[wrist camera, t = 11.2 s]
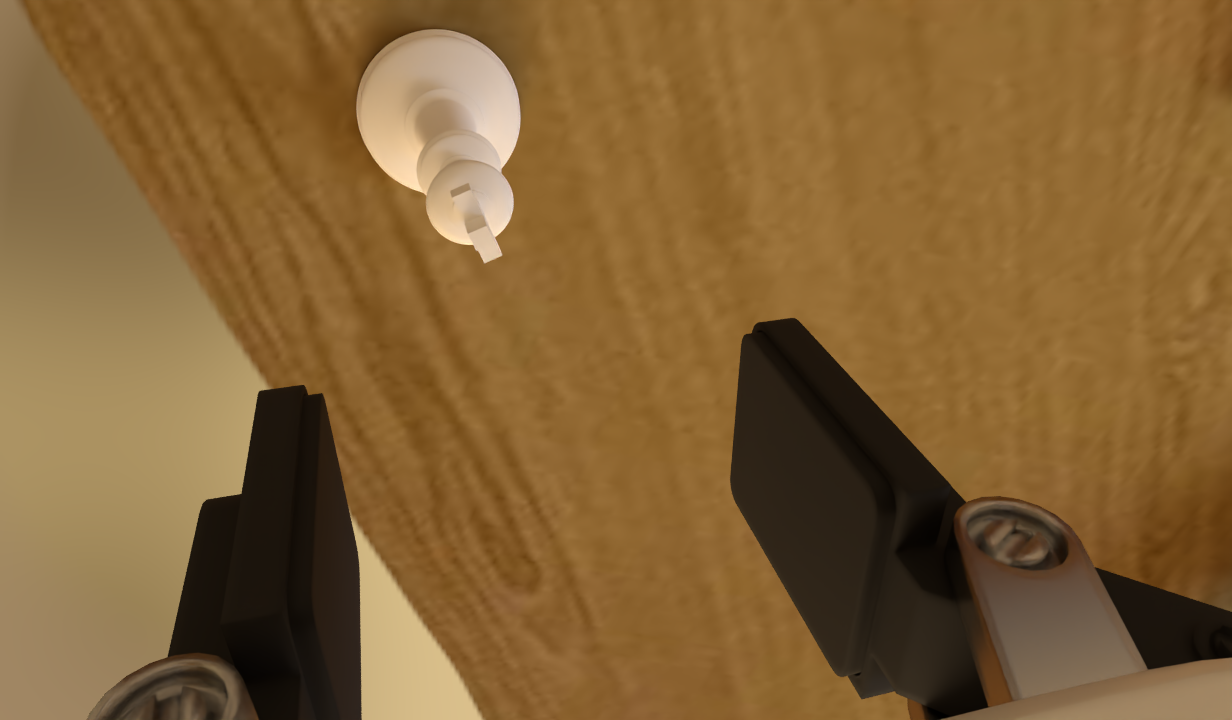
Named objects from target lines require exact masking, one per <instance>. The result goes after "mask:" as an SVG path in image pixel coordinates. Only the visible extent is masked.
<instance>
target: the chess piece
mask: <svg viewBox="0 0 1232 720" xmlns="http://www.w3.org/2000/svg"><path fill="white" fill-rule="evenodd" d="M356 111H357V120H358V125H359V130H360V133H361V136H362V138H363V141H364V143H365V145H366V147H367V148H368V150H369V152H370V153H371V155H372V157H373V158H374V159H375V161H376V162H377V163H378V165H379V166H380V167H381V168H382V169H383V170H384V171H385V172H386V173H387V174H388V175H389V176H391V177H392V178H393V179H395V180H396V181H398V182H399V183H401V184H403V185H404V186H407V187H409V188H411V189H413V190H416V191H419V192H423V193H424V194H425V195H426V196H427V197H426V209H427V213H428V217H429V219H430V221H431V223H432V225H433V226H434V228H435V229H436V230H437V231H438V232H439V233H440V234H441V235H442V236H444V237H445V238H447V239H449V240H451V241H453V242H456V243H459V244H466V245H474V247H475V249H476V251H479V253H480V255H481V257H482V259H483V261H484V263H486V262H489V261H491V260H493V259H495V258H498V257H500V256H502V253H501V250H500V248H499V246H498V243H497V241H496V239H495V237H496V236H497V235H498V234H500V233H501V232H502V231H503V229H504V228H505V227H506V226H507V224H508V222H509V220H510V218H511V216H512V212H513V206H514V200H513V193H512V190H511V187H510V185H509V183H508V181H507V180H506V178H505V177H504V176H503V175H502V174H501V168H502V167H503V166H504V165H505V163H506V162H507V161H508V159H509V157H510V156H511V154H512V152H513V150H514V148H515V145H516V142H517V139H518V135H519V129H520V104H519V98H518V93H517V90H516V87H515V84H514V81H513V79H512V77H511V75H510V73H509V71H508V70H507V68H506V67H505V65H504V64H503V63H502V61H501V60H500V59H499V58H498V57H497V56H496V55H495V54H494V53H493V52H492V51H491V50H490V49H489V48H488V47H486V46H485V45H484V44H482V43H481V42H479V41H477V40H475V39H474V38H471V37H469V36H467V35H464V34H461V33H458V32H454V31H449V30H442V29H429V30H421V31H416V32H413V33H409V34H407V35H404V36H402V37H400V38H398V39H396V40H394V41H393V42H391V43H390V44H388V45H387V46H385V47H384V48H383V49H382V50H381V51H380V52H379V53H378V54H377V55H376V56H375V57H374V59H373V60H372V61H371V62H370V64H369V65H368V67H367V69H366V71H365V73H364V75H363V77H362V79H361V82H360V85H359V89H358V94H357V104H356Z"/></svg>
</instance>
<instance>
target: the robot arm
mask: <svg viewBox="0 0 1232 720" xmlns="http://www.w3.org/2000/svg"><path fill="white" fill-rule="evenodd" d="M730 483H731V490H732V494H733V497H734V500H735V502H736V504H737V506H738V508H739V509H740V511H741V513H742V514H743V516H744V518H745V520H746V521H747V523H748V525H749V526H750V528H751V530H752V532H753V533H754V535H755V537H756V539H757V540H758V542H759V544H760V545H761V547H762V549H763V551H764V552H765V554H766V556H767V558H768V559H769V561H770V563H771V564H772V566H773V568H774V570H775V571H776V573H777V575H778V577H779V578H780V580H781V582H782V583H783V585H784V587H785V589H786V590H787V592H788V594H789V596H790V597H791V599H792V601H793V602H794V604H795V606H796V608H797V609H798V611H799V613H800V615H801V616H802V618H803V620H804V621H805V623H806V625H807V627H808V628H809V630H810V632H811V633H812V635H813V637H814V639H815V640H816V642H817V644H818V646H819V647H820V649H821V651H822V652H823V654H824V656H825V658H826V659H827V661H828V663H829V665H830V666H831V668H832V669H833V671H834V672H835V673H836V674H837V675H838V676H840V677H844V676H848V677H849V679H850V681H851V682H852V684H853V686H854V687H855V689H856V691H857V692H858V694H859V696H860V698H861V699H865V698H869V697H873V696H877V695H881V694H885V693H889V692H893V691H895V692H896V693H897V694H899V695H901V696H904V697H906V698H907V701H908V710H909V715H910V719H911V720H1232V612H1230V611H1227V610H1224V609H1221V608H1217V607H1214V606H1211V605H1208V604H1205V603H1202V602H1199V601H1196V600H1193V599H1190V598H1187V597H1184V596H1181V595H1178V594H1175V593H1172V592H1169V591H1166V590H1163V589H1160V588H1157V587H1154V586H1150V585H1147V584H1144V583H1141V582H1138V581H1135V580H1132V579H1129V578H1126V577H1123V576H1120V575H1117V574H1114V573H1111V572H1108V571H1105V570H1102V569H1099V568H1096V567H1094V565H1093V564H1092V562H1091V560H1090V558H1089V556H1088V554H1087V552H1086V550H1085V548H1084V546H1083V544H1082V542H1081V541H1080V539H1079V538H1078V536H1077V535H1076V534H1075V532H1074V531H1073V530H1072V528H1071V527H1070V526H1069V525H1068V524H1066V523H1065V522H1064V521H1063V520H1061V519H1060V518H1059V517H1058V516H1056V515H1055V514H1053V513H1051V512H1049V511H1047V510H1045V509H1044V508H1042V507H1040V506H1038V505H1035V504H1032V503H1029V502H1026V501H1023V500H1020V499H1014V498H1007V497H1001V496H996V497H981V498H978V499H974V500H971V501H968V502H967V503H966V502H965V501H964V499H963V498H962V497H961V496H960V495H959V494H958V493H957V492H956V491H955V490H954V489H953V488H952V486H951V485H950V484H949V482H948V481H947V480H946V479H945V478H944V477H943V476H942V475H941V474H940V473H939V472H938V471H937V469H936V468H935V467H934V466H933V465H932V464H931V463H930V462H929V461H928V460H927V459H926V458H925V457H924V455H923V454H922V453H921V452H920V451H919V450H918V449H917V448H916V447H915V446H914V445H913V444H912V443H911V441H910V440H909V439H908V438H907V437H906V436H905V435H904V434H903V433H902V432H901V431H900V430H899V429H898V427H897V426H896V425H895V424H894V423H893V422H892V421H891V420H890V419H889V418H888V417H887V416H886V414H885V413H884V412H883V411H882V410H881V409H880V408H879V407H878V406H877V405H876V404H875V403H874V402H873V400H872V399H871V398H870V397H869V396H868V395H867V394H866V393H865V392H864V391H863V390H862V389H861V388H860V386H859V385H858V384H857V383H856V382H855V381H854V380H853V379H852V378H851V377H850V376H849V375H848V373H847V372H846V371H845V370H844V369H843V368H842V367H841V366H840V365H839V364H838V363H837V362H836V361H835V359H834V358H833V357H832V356H831V355H830V354H829V353H828V352H827V351H826V350H825V349H824V348H823V347H822V345H821V344H820V343H819V342H818V341H817V340H816V339H815V338H814V337H813V336H812V335H811V334H810V333H809V331H808V330H807V329H806V328H805V327H804V326H803V325H802V324H801V323H800V322H799V321H798V320H797V319H795V318H789V319H781V320H774V321H767V322H759V323H757V324H756V325H755V326H754V328H753V331H752V333H751V334H746V335H744V337H743V339H742V344H741V355H740V367H739V379H738V391H737V403H736V415H735V427H734V439H733V451H732V463H731V475H730ZM359 576H360V573H359V559H358V551H357V546H356V541H355V536H354V531H353V527H352V522H351V518H350V513H349V508H348V504H347V499H346V495H345V490H344V486H343V481H342V476H341V472H340V467H339V463H338V458H337V453H336V449H335V444H334V440H333V435H332V430H331V426H330V421H329V417H328V412H327V407H326V403H325V399H324V396H323V394H322V393H321V394H313V395H308V393H307V390H306V387H305V386H304V385H299V386H292V387H284V388H277V389H270V390H263V391H259V393H258V397H257V403H256V410H255V415H254V421H253V427H252V433H251V440H250V446H249V452H248V458H247V464H246V470H245V476H244V482H243V488H242V494H239V495H233V496H226V497H220V498H214V499H208V500H206V501H205V502H204V503H203V504H202V507H201V510H200V513H199V518H198V522H197V527H196V531H195V536H194V540H193V545H192V549H191V554H190V559H189V563H188V567H187V572H186V577H185V581H184V585H183V590H182V595H181V599H180V603H179V608H178V613H177V617H176V622H175V626H174V630H173V635H172V640H171V644H170V649H169V653H168V657H167V658H165V659H161V660H158V661H155V662H153V663H150V664H148V665H146V666H144V667H142V668H141V669H139V670H137V671H135V672H133V673H131V674H130V675H128V676H126V677H125V678H124V679H122V680H121V681H120V682H119V683H117V684H116V685H115V686H114V687H113V688H111V689H110V690H109V691H108V692H107V693H105V695H104V696H103V697H102V698H101V700H100V701H99V702H98V703H97V705H96V706H95V707H94V708H93V710H92V711H91V712H90V713H89V716H88V718H87V720H362V719H361V645H360V644H361V643H360V577H359Z"/></svg>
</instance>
